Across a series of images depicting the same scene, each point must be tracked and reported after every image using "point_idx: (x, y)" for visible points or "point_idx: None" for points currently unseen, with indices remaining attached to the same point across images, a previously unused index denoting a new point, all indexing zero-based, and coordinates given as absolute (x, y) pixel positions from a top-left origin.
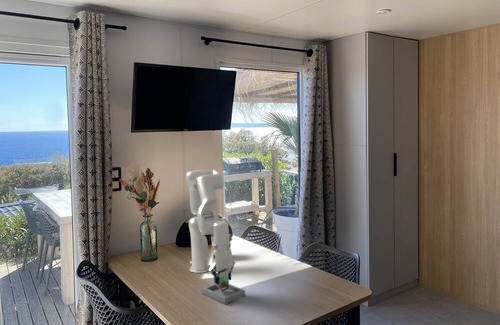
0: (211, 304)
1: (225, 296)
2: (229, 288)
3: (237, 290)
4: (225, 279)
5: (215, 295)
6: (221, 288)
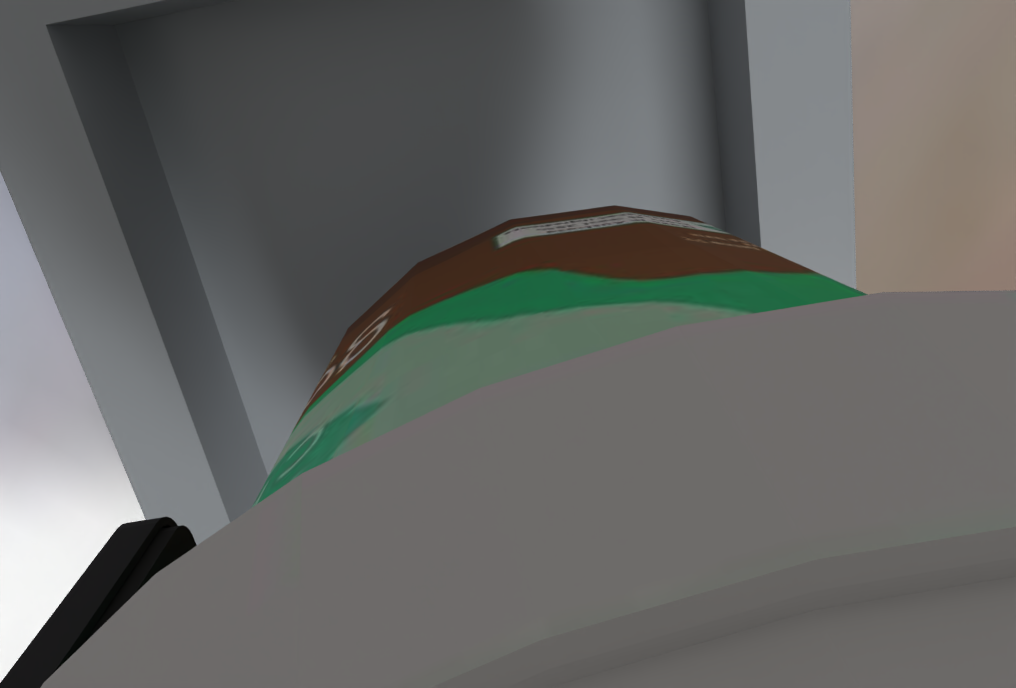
0: (1011, 57)
1: (532, 184)
2: (253, 479)
3: (126, 183)
4: (563, 329)
5: (842, 238)
6: (715, 234)
